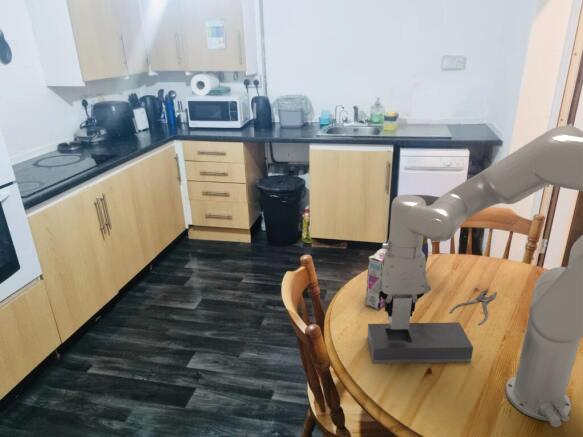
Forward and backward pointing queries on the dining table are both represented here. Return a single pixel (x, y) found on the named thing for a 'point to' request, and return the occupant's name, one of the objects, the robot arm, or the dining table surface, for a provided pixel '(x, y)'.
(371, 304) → the candy bar box
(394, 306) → the steel peg
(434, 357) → the rectangular block
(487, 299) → the pliers
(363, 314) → the dining table surface
